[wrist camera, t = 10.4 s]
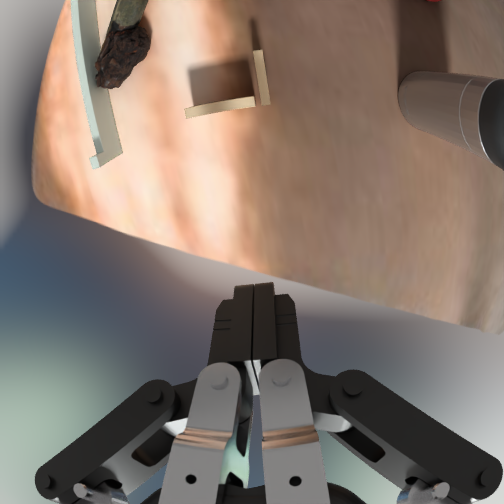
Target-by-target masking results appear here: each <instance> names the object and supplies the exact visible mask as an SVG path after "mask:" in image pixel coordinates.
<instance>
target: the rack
mask: <svg viewBox="0 0 504 504" xmlns="http://www.w3.org/2000/svg"><path fill="white" fill-rule="evenodd" d="M71 15H72V27H73V37H74V46H75V54H76V61H77V67H78V73H79V79H80V85H81V90H82V95H83V100H84V104H85V109H86V113H87V118H88V122H89V126H90V130H91V134H92V138H93V142H94V145H95V149H96V152H97V154H96V155H94V156H92V157H90V158H89V159H90V162H91V165H92V169H96V168H99V167H101V166H103V165H104V164H106V163H107V162H109V161H110V160H112V159H114V158H115V157H117V156H119V155H120V154H122V153H123V151H122V148H121V144H120V140H119V136H118V132H117V128H116V124H115V120H114V116H113V111H112V107H111V102H110V98H109V93H108V88H106V89H104V88H103V87H101V86H100V87H97V80H96V79H95V76H96V74H98V71H97V69H96V68H95V62H97V59H98V57H99V54H100V51H101V47H100V40H99V32H98V24H97V14H96V3H95V0H71Z"/></svg>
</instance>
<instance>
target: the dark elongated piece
mask: <svg viewBox="0 0 504 504" xmlns="http://www.w3.org/2000/svg"><path fill="white" fill-rule="evenodd" d="M147 2H148V0H117V2H116V5H115V8H114V11H113V14H112V17H111V21H110V24H109V27H108V31H107V35H106V38H105V41H104V43H103V45H102V48H101V51H100V54H99V57H98V59H97V62H95V68H96V69H97V71H98V74H96V76H95V79H96V80H97V87H100V86H101V87H103V88H104V89H106V88H108V89H113V88H115V87H117V88H119V87H120V86H121V84H122V83H123V81H124V80H125V79H126V78H127V77H128V76H129V75H130V74H131V71H132V70H133V67H134V66H136V65H137V64H138V63H139V62H141V61H142V60H144V59H145V57H146V56H147V52H148V50H149V49H150V37H149V36H148V34H147V33H146V30H145V29H144V28H142V27H139V26H138V24H139V22H140V20H141V18H142V15H143V12H144V10H145V7H146V5H147Z"/></svg>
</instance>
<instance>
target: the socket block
mask: <svg viewBox="0 0 504 504" xmlns="http://www.w3.org/2000/svg"><path fill="white" fill-rule="evenodd" d="M253 55H254V61H255V67H256V73H257V79H258V86H259V92H260V99H261V105H262V106H263V105H271V104H270V97H269V90H268V84H267V77H266V71H265V65H264V58H263V52H262V50H256V51H253ZM255 106H256V102H255V96H248V97H241V98H235V99H229V100H223V101H217V102H212V103H207V104H202V105H197V106H193V107H190V108H186V109H184V110H185V115H186V119H187V118H192V117H196V116H201V115H206V114H211V113H217V112H222V111H228V110H234V109H241V108H248V107H255Z"/></svg>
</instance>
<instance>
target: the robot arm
mask: <svg viewBox="0 0 504 504" xmlns="http://www.w3.org/2000/svg"><path fill="white" fill-rule="evenodd" d="M398 100H399V106H400V109H401V112H402V114H403V116H404V117H405V119H406V120H407V121H408V122H409V123H410V124H411V125H412V126H414V127H415V128H417V129H419V130H422V131H425V132H427V133H430V134H432V135H434V136H437V137H439V138H441V139H444V140H446V141H448V142H450V143H453V144H455V145H457V146H459V147H461V148H463V149H465V150H467V151H469V152H471V153H473V154H475V155H477V156H479V157H482V158H483V159H485V160H487V161H489V162H491V163H493V164H494V165H496V166H498V167H500V168H501V169H503V171H504V80H503V79H497V78H491V77H484V76H476V75H468V74H458V73H445V72H426V71H418V72H413V73H410V74H409V75H407V76H406V77H405V78H404V79H403V81H402V83H401V85H400V88H399V92H398ZM213 330H214V331H213V334H212V340H211V347H210V353H209V360H208V365H207V367H206V368H204V369H203V370H202V371H201V373H200V374H199V376H198V378H196V379H195V380H193V381H190V382H187V383H183V384H179V385H176V386H171V385H170V384H169V383H168V382H166V381H164V380H152V381H149V382H147V383H145V384H144V385H143V386H141V387H140V388H139V389H138V390H137V391H136V392H134V393H133V394H132V395H131V396H130V397H128V398H127V399H126V400H125V401H124V402H122V403H121V404H120V405H119V406H117V407H116V408H115V409H114V410H113V411H111V412H110V413H109V414H108V415H106V416H105V417H104V418H103V419H101V420H100V421H99V422H98V423H96V424H95V425H94V426H93V427H92V428H90V429H89V430H88V431H87V432H85V433H84V434H83V435H81V436H80V437H79V438H78V439H76V440H75V441H74V442H73V443H71V444H70V445H69V446H67V447H66V448H65V449H64V450H62V451H61V452H60V453H58V454H57V455H56V456H54V457H53V458H52V459H51V460H49V461H48V462H47V463H45V464H44V465H43V466H41V467H40V468H39V469H38V470H37V472H36V475H35V485H36V488H37V490H38V492H39V493H40V494H41V496H43V497H44V498H46V499H49V500H51V501H54V502H57V503H59V504H130V503H129V501H128V499H127V495H128V494H130V493H131V492H132V491H134V490H135V489H136V488H138V487H139V486H140V485H141V484H143V483H144V482H145V481H146V480H148V479H149V478H150V477H151V476H152V475H154V474H155V473H156V472H157V471H159V470H160V469H161V468H162V467H163V466H165V465H166V464H167V463H168V465H167V469H166V473H165V477H164V481H163V486H162V488H160V489H158V490H157V491H155V492H154V493H153V494H151V495H150V496H149V497H148V498H147V499H145V500H144V501H143V502H142V503H141V504H366V503H365V502H364V501H362V500H361V499H360V498H359V497H358V496H357V495H355V494H354V493H352V492H351V491H349V490H348V489H346V488H344V487H341V486H339V485H336V484H333V483H328V482H327V481H326V475H325V469H324V464H323V458H322V453H321V447H320V442H319V437H318V434H317V431H316V430H315V429H319V430H325V431H327V432H328V433H329V434H330V435H331V436H332V437H333V438H335V439H336V440H337V441H338V442H340V443H341V444H342V445H343V446H345V447H346V448H347V449H348V450H349V451H351V452H352V453H353V454H354V455H356V456H357V457H358V458H360V459H361V460H362V461H364V462H365V463H366V464H368V465H369V466H370V467H371V468H373V469H374V470H375V471H377V472H378V473H379V474H381V475H382V476H384V477H385V478H386V479H388V480H389V481H391V482H392V483H393V484H395V485H396V486H398V487H399V488H401V489H402V491H401V492H400V494H399V496H398V498H397V504H472V503H473V502H476V501H479V500H482V499H485V498H487V497H489V496H490V495H492V494H493V493H494V492H495V491H496V489H497V488H498V486H499V485H500V482H501V480H502V475H503V469H502V465H501V463H500V461H499V460H498V459H496V458H495V457H493V456H492V455H490V454H488V453H487V452H485V451H483V450H481V449H480V448H478V447H477V446H475V445H474V444H472V443H470V442H469V441H467V440H466V439H464V438H462V437H461V436H459V435H457V434H456V433H454V432H453V431H451V430H450V429H448V428H447V427H445V426H443V425H442V424H441V423H439V422H437V421H436V420H434V419H433V418H431V417H430V416H428V415H427V414H425V413H424V412H422V411H421V410H419V409H418V408H416V407H415V406H413V405H412V404H410V403H409V402H407V401H406V400H404V399H403V398H401V397H400V396H398V395H397V394H396V393H394V392H393V391H391V390H389V389H388V388H387V387H385V386H384V385H383V384H381V383H380V382H378V381H377V380H375V379H374V378H372V377H371V376H370V375H368V374H367V373H365V372H363V371H360V370H347V371H344V372H341V373H340V374H338V375H337V376H336V377H335V376H329V375H322V374H318V373H315V372H313V371H311V370H310V369H308V368H307V367H306V366H305V365H304V363H303V361H302V358H301V351H300V342H299V334H298V326H297V318H296V310H295V303H294V301H293V300H292V299H291V297H290V296H289V295H288V294H282V295H275V291H274V284H273V282H270V283H260V284H255V287H254V284H250V285H241V286H235V288H234V297H233V299H229V300H223V301H222V302H221V304H220V305H219V307H218V308H217V310H216V315H215V323H214V328H213ZM253 395H260V404H261V416H262V429H263V439H262V454H263V465H264V478H265V485H262V486H258V487H254V488H249V489H248V488H247V486H248V477H249V463H248V454H249V446H250V437H251V428H252V420H253Z"/></svg>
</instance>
